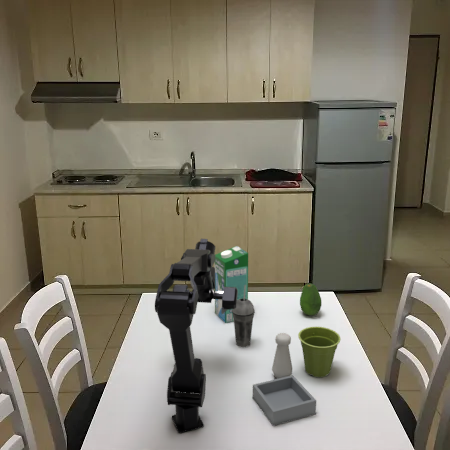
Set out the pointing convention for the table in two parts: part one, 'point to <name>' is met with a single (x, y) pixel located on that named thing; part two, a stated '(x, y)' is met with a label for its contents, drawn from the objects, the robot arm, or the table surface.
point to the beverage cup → (243, 321)
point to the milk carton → (230, 277)
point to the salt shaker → (282, 357)
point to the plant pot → (318, 349)
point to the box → (284, 400)
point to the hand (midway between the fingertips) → (207, 311)
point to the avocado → (310, 300)
